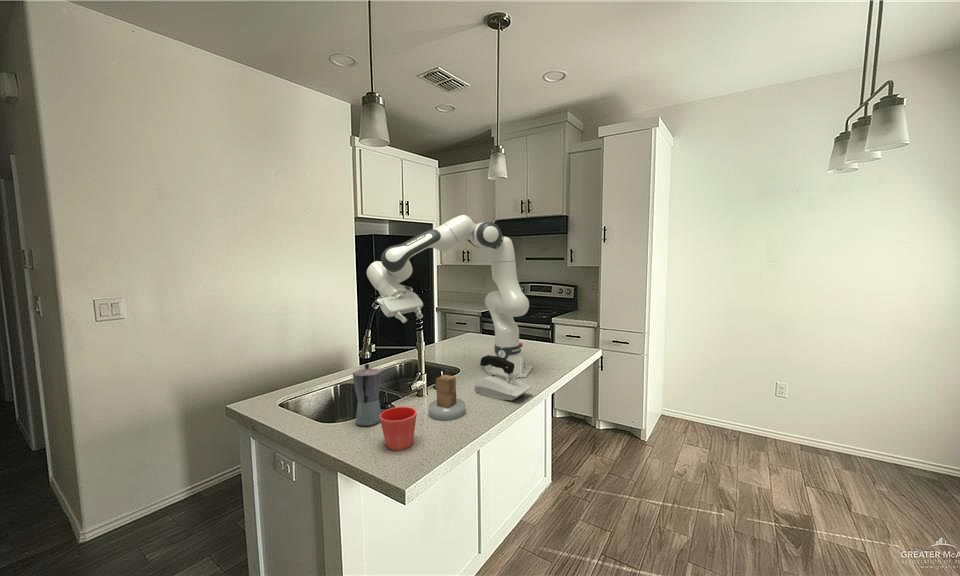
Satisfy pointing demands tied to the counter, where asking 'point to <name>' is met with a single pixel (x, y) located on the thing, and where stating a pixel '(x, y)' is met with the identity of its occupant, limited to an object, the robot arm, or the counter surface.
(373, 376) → the moka pot
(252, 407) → the counter surface
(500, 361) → the iron
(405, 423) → the flower pot
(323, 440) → the counter surface
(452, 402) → the walnut block
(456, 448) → the counter surface
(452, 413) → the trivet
